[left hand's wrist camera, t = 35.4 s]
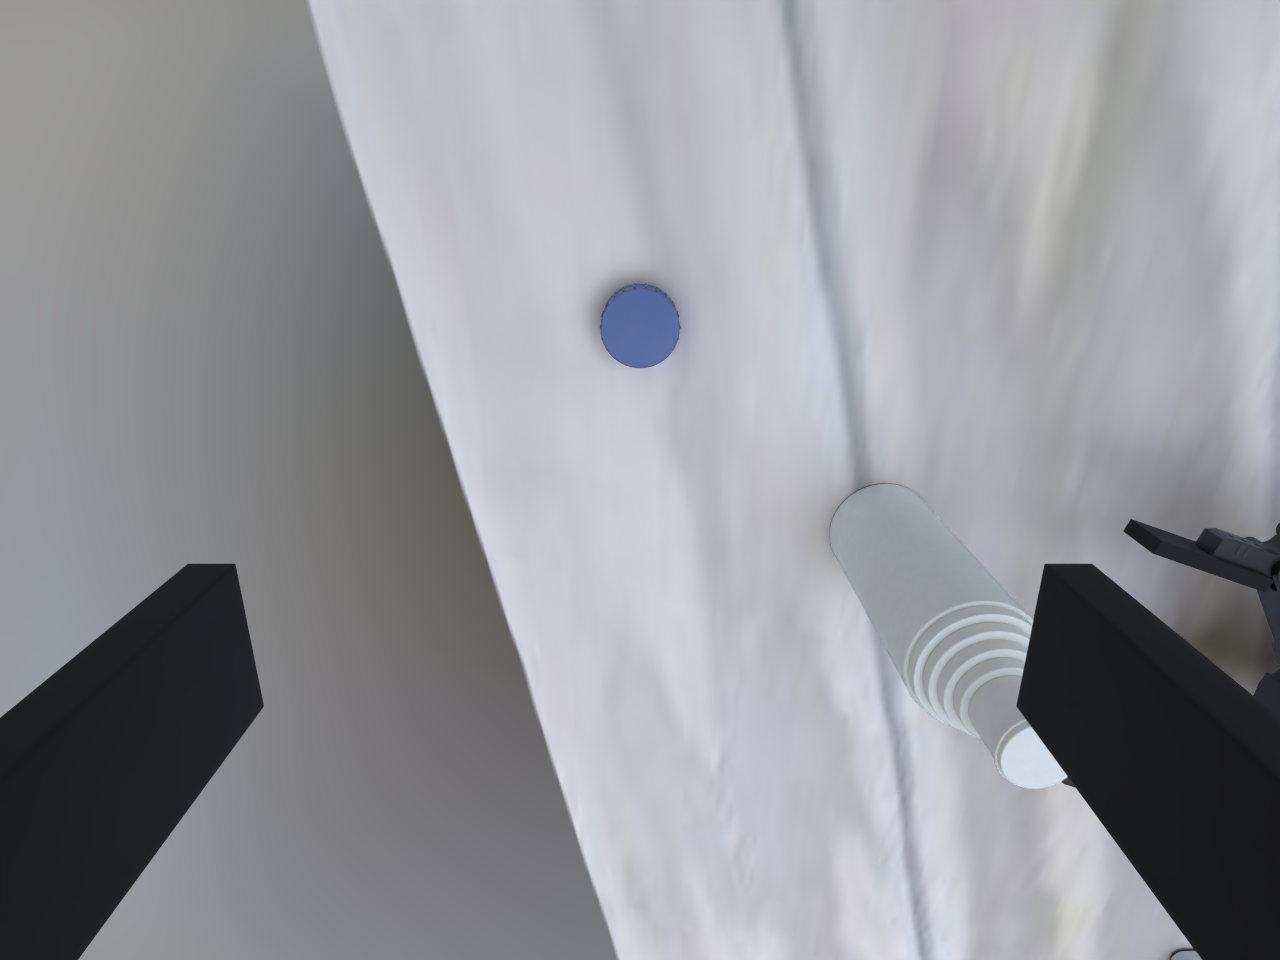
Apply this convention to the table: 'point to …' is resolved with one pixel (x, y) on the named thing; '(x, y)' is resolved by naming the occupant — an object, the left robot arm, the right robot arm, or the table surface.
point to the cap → (640, 326)
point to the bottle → (943, 624)
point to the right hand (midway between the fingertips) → (1072, 641)
